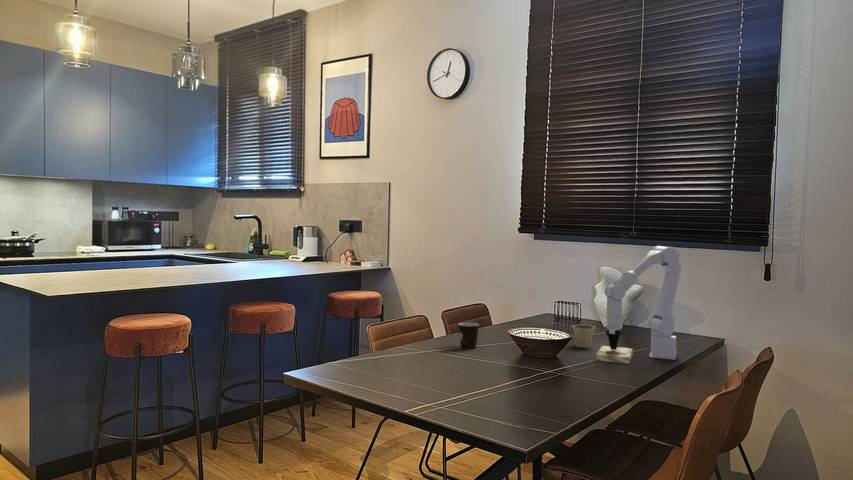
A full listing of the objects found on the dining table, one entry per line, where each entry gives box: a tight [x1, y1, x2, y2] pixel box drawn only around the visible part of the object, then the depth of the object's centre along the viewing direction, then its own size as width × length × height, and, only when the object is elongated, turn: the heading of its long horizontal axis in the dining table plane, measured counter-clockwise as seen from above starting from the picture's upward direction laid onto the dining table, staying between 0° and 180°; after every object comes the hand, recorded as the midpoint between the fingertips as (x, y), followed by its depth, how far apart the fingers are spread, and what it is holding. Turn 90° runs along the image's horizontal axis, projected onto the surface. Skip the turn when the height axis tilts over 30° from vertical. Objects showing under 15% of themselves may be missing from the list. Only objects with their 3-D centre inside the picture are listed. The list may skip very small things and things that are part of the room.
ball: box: [609, 350, 618, 355], centre depth 229 cm, size 4×4×4 cm
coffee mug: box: [458, 322, 480, 350], centre depth 248 cm, size 12×9×10 cm
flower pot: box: [572, 324, 596, 349], centre depth 251 cm, size 9×9×9 cm
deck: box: [595, 345, 634, 364], centre depth 232 cm, size 12×17×2 cm
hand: (613, 349), depth 232 cm, fingers closed
